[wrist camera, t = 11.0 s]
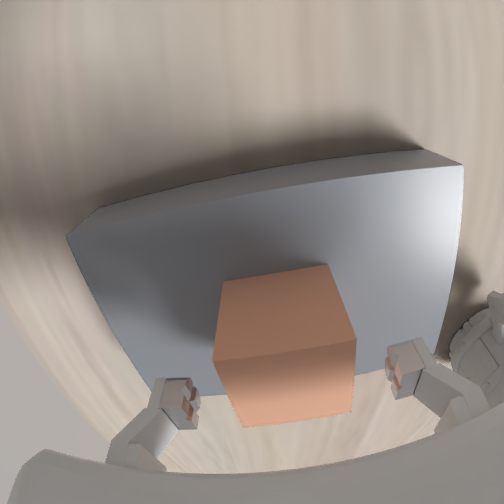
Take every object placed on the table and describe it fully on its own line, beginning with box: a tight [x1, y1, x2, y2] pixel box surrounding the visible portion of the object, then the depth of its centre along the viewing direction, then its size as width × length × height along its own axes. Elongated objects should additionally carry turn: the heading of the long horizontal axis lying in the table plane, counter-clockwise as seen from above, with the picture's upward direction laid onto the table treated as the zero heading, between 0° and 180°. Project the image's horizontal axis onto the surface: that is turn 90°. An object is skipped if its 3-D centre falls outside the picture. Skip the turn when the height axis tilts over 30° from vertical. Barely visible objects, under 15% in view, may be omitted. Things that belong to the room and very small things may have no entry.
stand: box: [66, 149, 464, 396], centre depth 17 cm, size 13×20×4 cm, turn 101°
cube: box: [212, 264, 357, 427], centre depth 13 cm, size 5×5×5 cm
